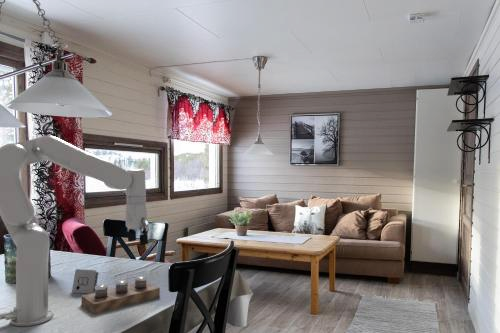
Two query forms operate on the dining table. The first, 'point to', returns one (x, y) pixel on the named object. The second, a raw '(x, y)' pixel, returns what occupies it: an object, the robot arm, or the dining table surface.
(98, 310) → the knob mount
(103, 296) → the knob near
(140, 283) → the knob far
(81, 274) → the electrical switch
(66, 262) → the dining table surface
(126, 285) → the knob mid
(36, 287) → the robot arm
